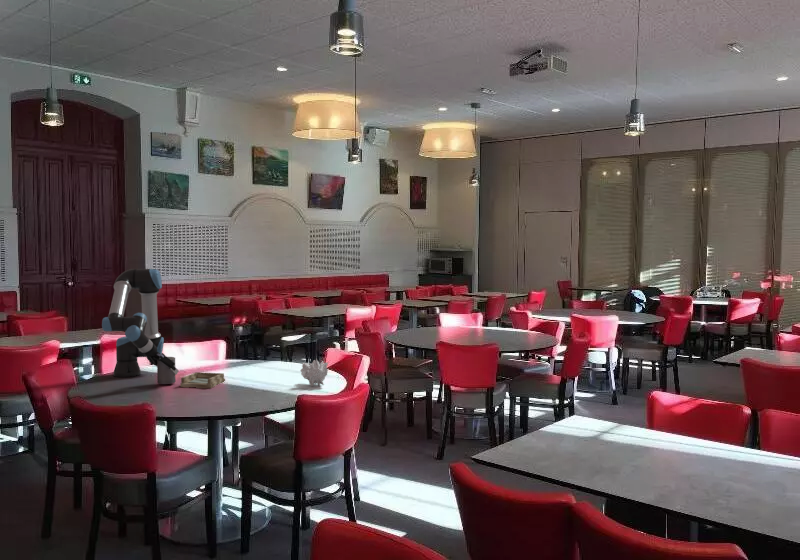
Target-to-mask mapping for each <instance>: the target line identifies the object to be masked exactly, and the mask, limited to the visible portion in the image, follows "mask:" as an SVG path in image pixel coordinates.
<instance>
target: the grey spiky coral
mask: <svg viewBox="0 0 800 560" xmlns="http://www.w3.org/2000/svg"><path fill="white" fill-rule="evenodd" d="M301 364H302V366H301V367H302V368H301V369H300V372H301V374H300V375H301V376H302V377H303V378H304V380H307V381H308V383H309V386H310V387H311V386H312V387H313V386H314V384H315V385H316V384H317V386H321V385H322V386H324V385H325V384H324V381H325V379H326V377H327V376H328V371H329V368H327V366H328V364H329V361H328V362H324V360H322V361H321V362H319V360H318V358H315V359H314V360H313V361H312V363H310V362H301Z"/></svg>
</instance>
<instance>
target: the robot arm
mask: <svg viewBox="0 0 800 560" xmlns="http://www.w3.org/2000/svg"><path fill="white" fill-rule="evenodd" d="M162 281H163V280H162V275H161V273H160V270H159V269H156V268H155V269H153V268H130V269H127V270H125V271H123V272H122V273H120V274H119V275H118V277H116V279H115V281H114V284H113V289H114V291H113V295H112V300H111V305H110V308H109V313H108V316H105V317H103V318H102V320H101V328H102V331H103V332H124V335H125V336H122V337H118V338H117V339H116V343H115V348H116V350H115V352H116V353H115V354H116V363H115V366H114V369H113V373H112V374H113V377H115V378H131V377H130V376H132V377H136V375H137V376H139V375H141V374H142V373H141V368H140V365H139V362H138V358H146V359H147V360H148V362H149V363H150V364H151V365H153V366H154V367H155V366H156V368H157V360H158V361H161V362H162V363H164V364H165V365H167V366H168V367H169V369H170V370H171V371H172V372H173V373H174V374H175V376H177V374H178V373H179V372H180V371H179V370H178V368H177V367H176V362H175V363H174V362H172V361H171V360H170V359H169V358H168V357H169V356H167V355H165V353H163V350H164V342H165V341H164V340H165V339H164V337H163V336H162V335H161V333H160V332H159V321H158V320H159V319H158V318H159V316H158V293H160V289H162V288H163V285H162ZM133 289H134V290H137V292H138V293H139V294H140V296H141V298H140V299H141V312H136V313H134V314H133V315H132V316H125V312H126V311H125V310H126V306H127V302H128V298H129V293H130V292H131V290H133ZM159 358H160V359H159ZM174 364H175V366H174Z"/></svg>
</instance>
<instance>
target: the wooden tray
mask: <svg viewBox="0 0 800 560" xmlns="http://www.w3.org/2000/svg"><path fill="white" fill-rule="evenodd" d="M180 380H181V381H180V386H179V387H180V388H189V387H196V388H195V389H213V388H215V387H217V386H216V385H218V384H220V383H222V382H224V381H225V382H226V378H225V373H220V372H218V373H216V372H194V373H191V374H189V375H185V376H183V377H181V378H180ZM225 382H224V383H225ZM222 384H223V383H222ZM220 385H221V384H220ZM214 386H215V387H214ZM218 386H219V385H218ZM212 387H213V388H212Z"/></svg>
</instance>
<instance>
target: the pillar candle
mask: <svg viewBox="0 0 800 560" xmlns="http://www.w3.org/2000/svg"><path fill="white" fill-rule="evenodd" d="M167 357H168V358H169V359H170V360H171V361H172V362H174V363H175V364H174V366H175V367H176V357H174V356H167ZM159 359H160V358H159ZM156 369H157V370H156V371H157V372H156V375H157V376H156V377H157V380H156V381H157V382H156V383H157V384H158V385H168V384H169V385H170V384H174V383H176V381H177V380H176V375H175V374H174V373H173V372H172V371H171V370H170V369H169V367H168V366H167V365H165V364H164V363H162V362H161V361H158V360H157V367H156Z"/></svg>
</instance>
